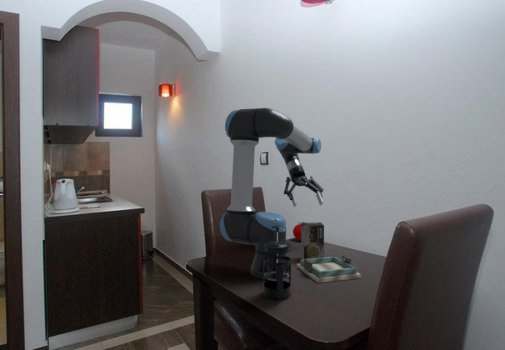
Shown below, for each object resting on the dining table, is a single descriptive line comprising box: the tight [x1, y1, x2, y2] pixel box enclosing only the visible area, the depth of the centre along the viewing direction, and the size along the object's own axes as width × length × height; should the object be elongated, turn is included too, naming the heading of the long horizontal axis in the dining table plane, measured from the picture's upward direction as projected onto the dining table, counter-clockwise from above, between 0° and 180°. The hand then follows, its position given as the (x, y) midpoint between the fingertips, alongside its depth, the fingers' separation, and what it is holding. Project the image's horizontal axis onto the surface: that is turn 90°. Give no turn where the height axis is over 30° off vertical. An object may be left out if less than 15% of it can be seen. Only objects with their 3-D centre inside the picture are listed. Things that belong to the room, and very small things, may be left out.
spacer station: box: [296, 254, 362, 284], centre depth 138 cm, size 18×18×6 cm
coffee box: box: [300, 222, 325, 260], centre depth 154 cm, size 9×6×16 cm
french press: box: [262, 225, 292, 301], centre depth 115 cm, size 12×9×23 cm
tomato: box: [292, 221, 305, 242], centre depth 188 cm, size 10×10×10 cm
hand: (308, 204), depth 164 cm, fingers open, 13 cm apart
